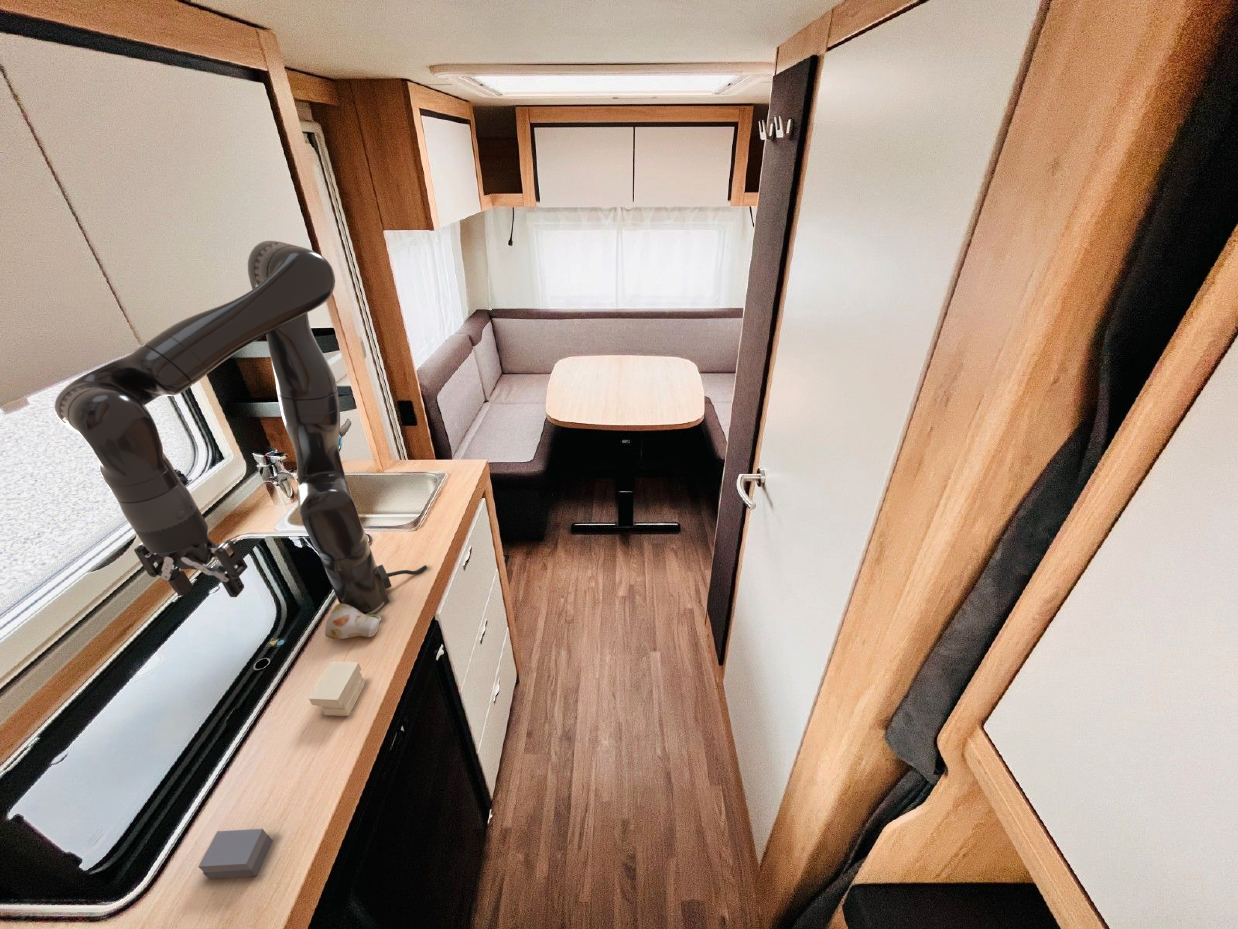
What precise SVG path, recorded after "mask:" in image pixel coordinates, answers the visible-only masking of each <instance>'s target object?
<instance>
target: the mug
mask: <svg viewBox="0 0 1238 929" xmlns="http://www.w3.org/2000/svg"><path fill="white" fill-rule="evenodd" d="M380 622H382V618H381V616H380V615H379V614H373V615H370V614H363V613H361V612H360V611H358V610H357V609H356V608H354V607H352V606H350V605H347V604H340V603H338V604H336V605H335V606H334V607H333V608H332V610H331V611H330V613H329V615H328V617H327V620H326V623H325V629H324V636H325V637H326V638H328V639H332V640H344V639H348V638H354V637H367V638H371V637H373V636H375V635H376V634H377V632H378V631H379V628H380Z"/></svg>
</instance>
